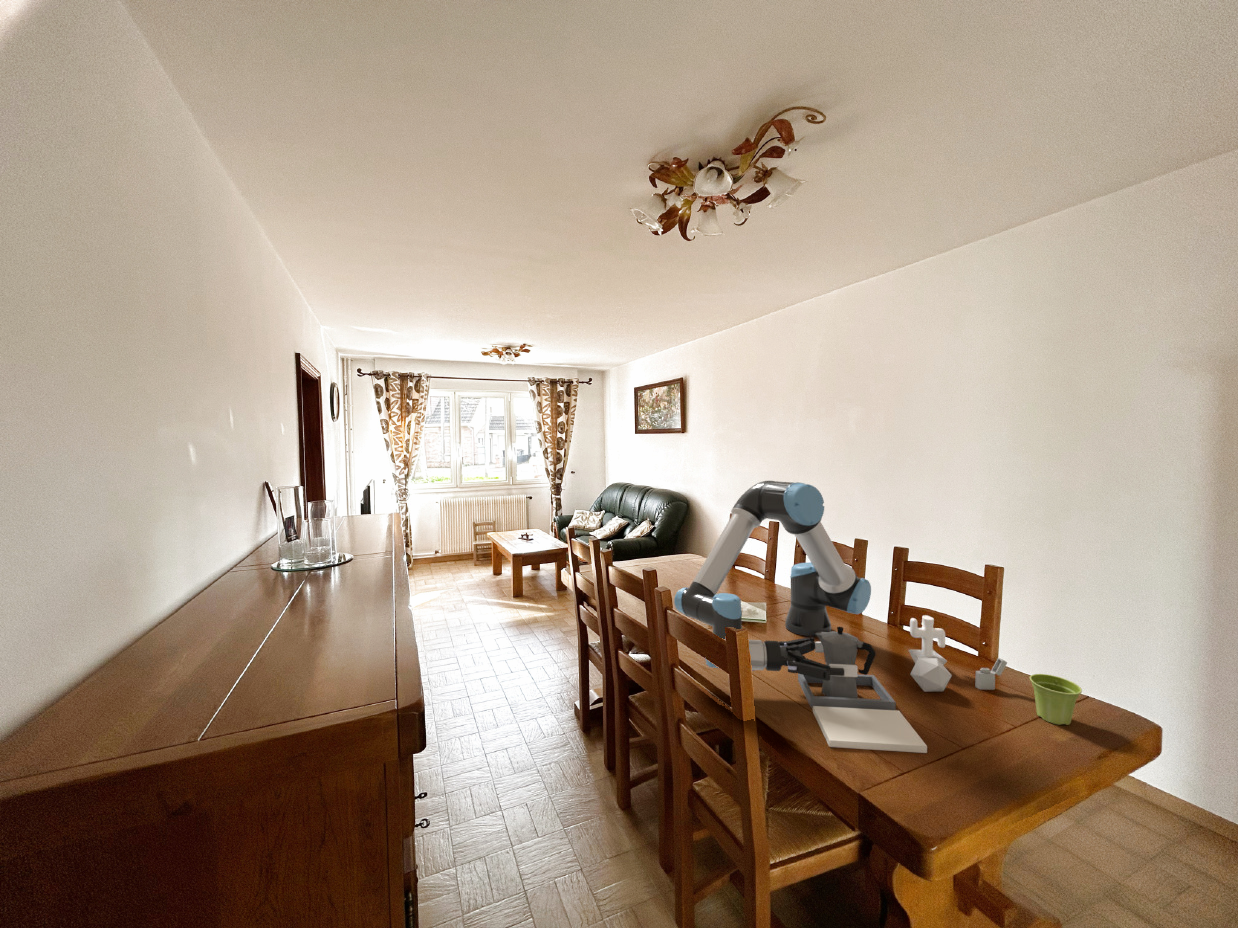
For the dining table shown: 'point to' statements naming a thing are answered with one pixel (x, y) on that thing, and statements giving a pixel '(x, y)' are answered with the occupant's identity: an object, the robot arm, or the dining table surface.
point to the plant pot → (1055, 698)
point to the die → (930, 674)
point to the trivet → (868, 729)
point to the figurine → (927, 639)
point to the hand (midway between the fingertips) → (848, 658)
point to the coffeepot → (843, 661)
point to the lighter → (989, 675)
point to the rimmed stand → (868, 680)
